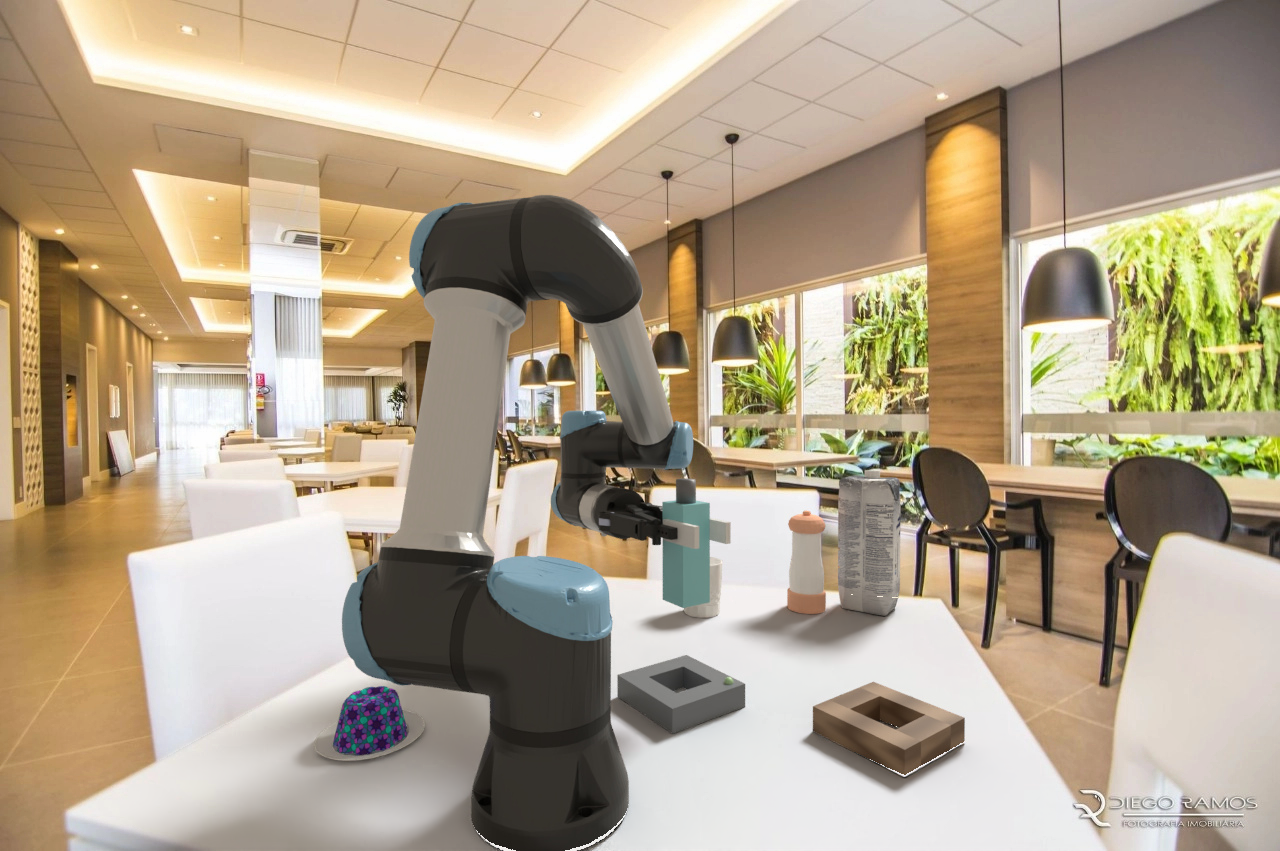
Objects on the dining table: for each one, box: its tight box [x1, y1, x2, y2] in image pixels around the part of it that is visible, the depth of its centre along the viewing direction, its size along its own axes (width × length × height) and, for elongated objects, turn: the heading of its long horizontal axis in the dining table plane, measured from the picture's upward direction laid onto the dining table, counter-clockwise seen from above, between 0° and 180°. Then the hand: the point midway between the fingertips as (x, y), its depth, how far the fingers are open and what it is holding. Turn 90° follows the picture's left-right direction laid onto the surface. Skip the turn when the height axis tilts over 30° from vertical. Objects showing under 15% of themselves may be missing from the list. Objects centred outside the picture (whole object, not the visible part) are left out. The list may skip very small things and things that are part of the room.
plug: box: [661, 478, 711, 609], centre depth 83 cm, size 4×4×16 cm
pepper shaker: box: [786, 510, 827, 615], centre depth 123 cm, size 7×7×19 cm
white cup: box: [683, 556, 723, 619], centre depth 121 cm, size 8×8×10 cm
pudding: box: [313, 685, 426, 762], centre depth 74 cm, size 12×12×5 cm
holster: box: [812, 681, 966, 775], centre depth 74 cm, size 12×12×3 cm
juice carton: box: [837, 469, 901, 617], centre depth 123 cm, size 9×10×27 cm
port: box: [616, 654, 746, 734], centre depth 83 cm, size 12×12×4 cm
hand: (712, 535), depth 78 cm, fingers closed on plug, 4 cm apart
